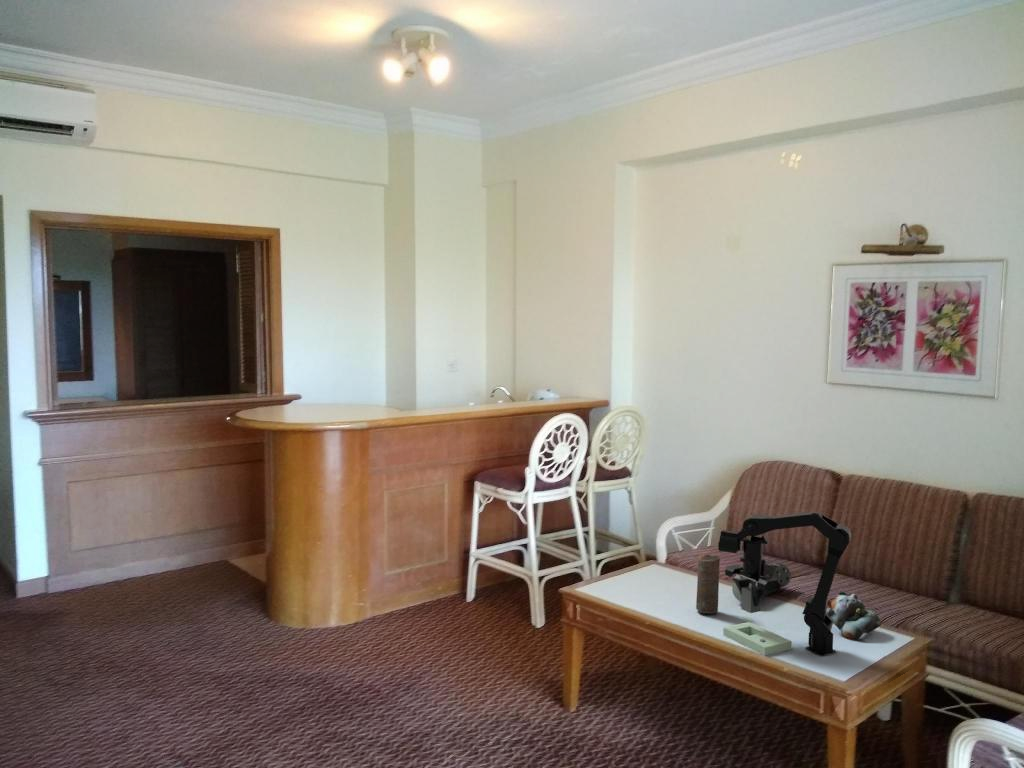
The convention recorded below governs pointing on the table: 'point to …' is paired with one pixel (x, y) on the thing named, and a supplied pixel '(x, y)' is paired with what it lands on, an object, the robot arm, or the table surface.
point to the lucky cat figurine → (852, 616)
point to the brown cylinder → (708, 583)
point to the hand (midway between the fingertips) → (751, 604)
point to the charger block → (749, 601)
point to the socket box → (757, 638)
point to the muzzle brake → (780, 574)
